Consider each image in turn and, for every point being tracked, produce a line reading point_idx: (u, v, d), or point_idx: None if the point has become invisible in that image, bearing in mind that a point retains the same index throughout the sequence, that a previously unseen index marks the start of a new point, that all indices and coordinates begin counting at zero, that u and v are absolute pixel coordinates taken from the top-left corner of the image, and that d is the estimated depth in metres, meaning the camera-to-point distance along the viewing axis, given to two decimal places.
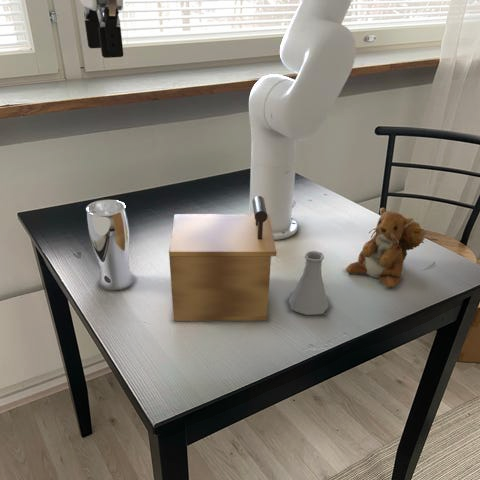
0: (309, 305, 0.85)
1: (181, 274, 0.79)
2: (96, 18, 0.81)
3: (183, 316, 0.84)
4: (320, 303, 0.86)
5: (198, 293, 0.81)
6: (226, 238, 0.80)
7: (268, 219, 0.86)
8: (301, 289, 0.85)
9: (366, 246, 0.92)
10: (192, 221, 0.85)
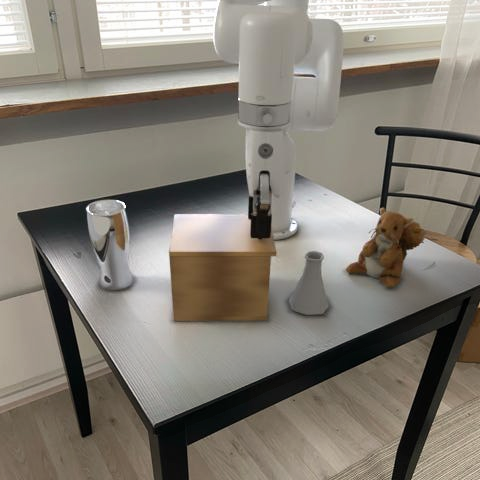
0: (309, 305, 0.85)
1: (181, 274, 0.79)
2: (260, 195, 0.82)
3: (183, 316, 0.84)
4: (320, 303, 0.86)
5: (198, 293, 0.81)
6: (226, 238, 0.80)
7: None
8: (301, 289, 0.85)
9: (366, 246, 0.92)
10: (192, 221, 0.85)
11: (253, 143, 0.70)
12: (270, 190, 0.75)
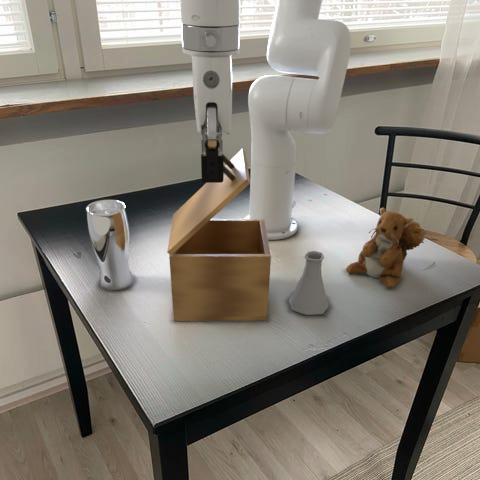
0: (309, 305, 0.85)
1: (181, 274, 0.79)
2: None
3: (183, 316, 0.84)
4: (320, 303, 0.86)
5: (198, 293, 0.81)
6: (208, 202, 0.76)
7: (241, 153, 0.79)
8: (301, 289, 0.85)
9: (366, 246, 0.92)
10: (184, 209, 0.84)
11: (197, 71, 0.64)
12: (220, 127, 0.69)
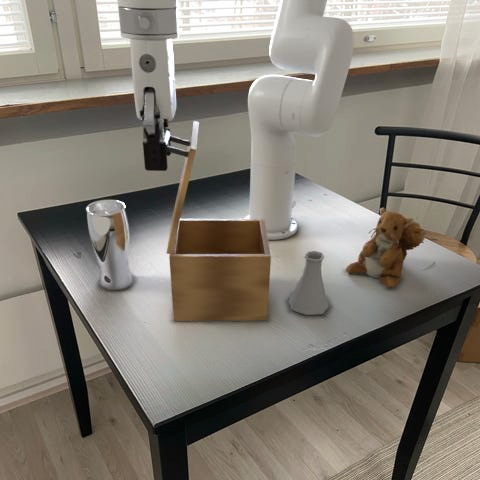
0: (309, 305, 0.85)
1: (181, 274, 0.79)
2: None
3: (183, 316, 0.84)
4: (320, 303, 0.86)
5: (198, 293, 0.81)
6: (180, 188, 0.75)
7: (193, 126, 0.77)
8: (301, 289, 0.85)
9: (366, 246, 0.92)
10: (175, 205, 0.83)
11: (133, 54, 0.63)
12: (161, 113, 0.68)
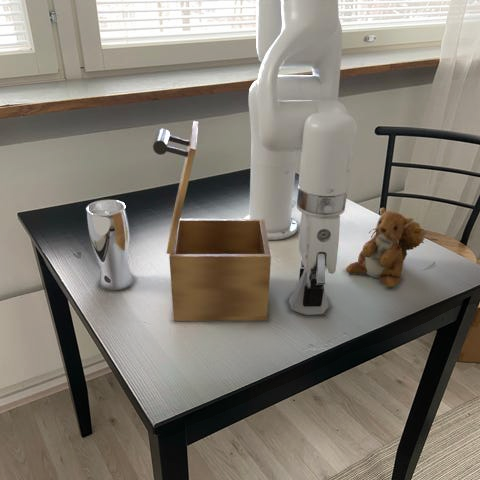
0: None
1: (181, 274, 0.79)
2: None
3: (183, 316, 0.84)
4: None
5: (198, 293, 0.81)
6: (180, 188, 0.75)
7: (192, 126, 0.77)
8: (301, 289, 0.85)
9: (366, 246, 0.92)
10: (175, 205, 0.83)
11: (312, 228, 0.75)
12: (324, 267, 0.81)
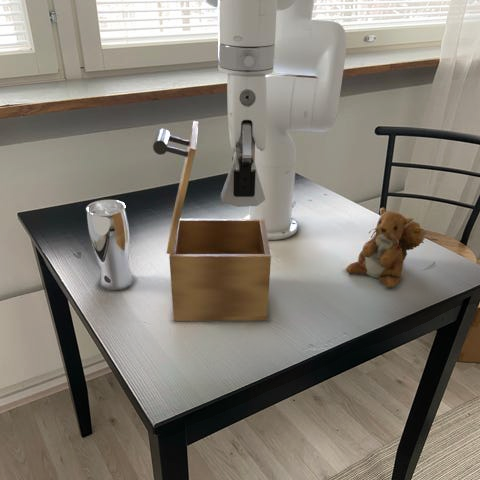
0: None
1: (181, 274, 0.79)
2: None
3: (183, 316, 0.84)
4: None
5: (198, 293, 0.81)
6: (180, 188, 0.75)
7: (192, 126, 0.77)
8: (231, 177, 0.75)
9: (366, 246, 0.92)
10: (175, 205, 0.83)
11: (234, 89, 0.65)
12: (253, 144, 0.70)
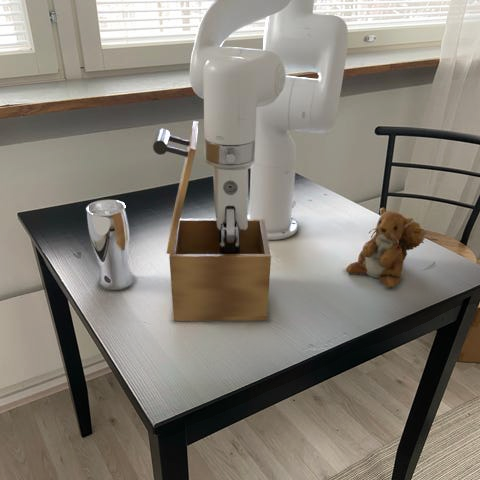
0: None
1: (181, 274, 0.79)
2: None
3: (183, 316, 0.84)
4: None
5: (198, 293, 0.81)
6: (180, 188, 0.75)
7: (192, 126, 0.77)
8: None
9: (366, 246, 0.92)
10: (175, 205, 0.83)
11: (218, 180, 0.73)
12: (237, 222, 0.77)
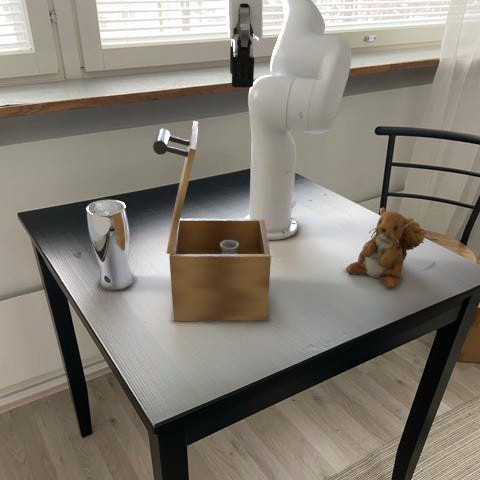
0: None
1: (181, 274, 0.79)
2: None
3: (183, 316, 0.84)
4: None
5: (198, 293, 0.81)
6: (180, 188, 0.75)
7: (192, 126, 0.77)
8: None
9: (366, 246, 0.92)
10: (175, 205, 0.83)
11: None
12: (251, 28, 0.71)
